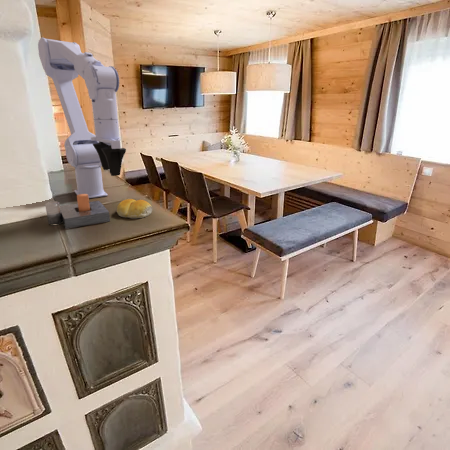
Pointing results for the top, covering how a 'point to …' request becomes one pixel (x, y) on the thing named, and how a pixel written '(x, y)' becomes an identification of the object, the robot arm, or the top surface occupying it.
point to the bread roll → (134, 208)
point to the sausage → (83, 202)
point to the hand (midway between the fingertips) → (111, 172)
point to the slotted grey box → (76, 214)
